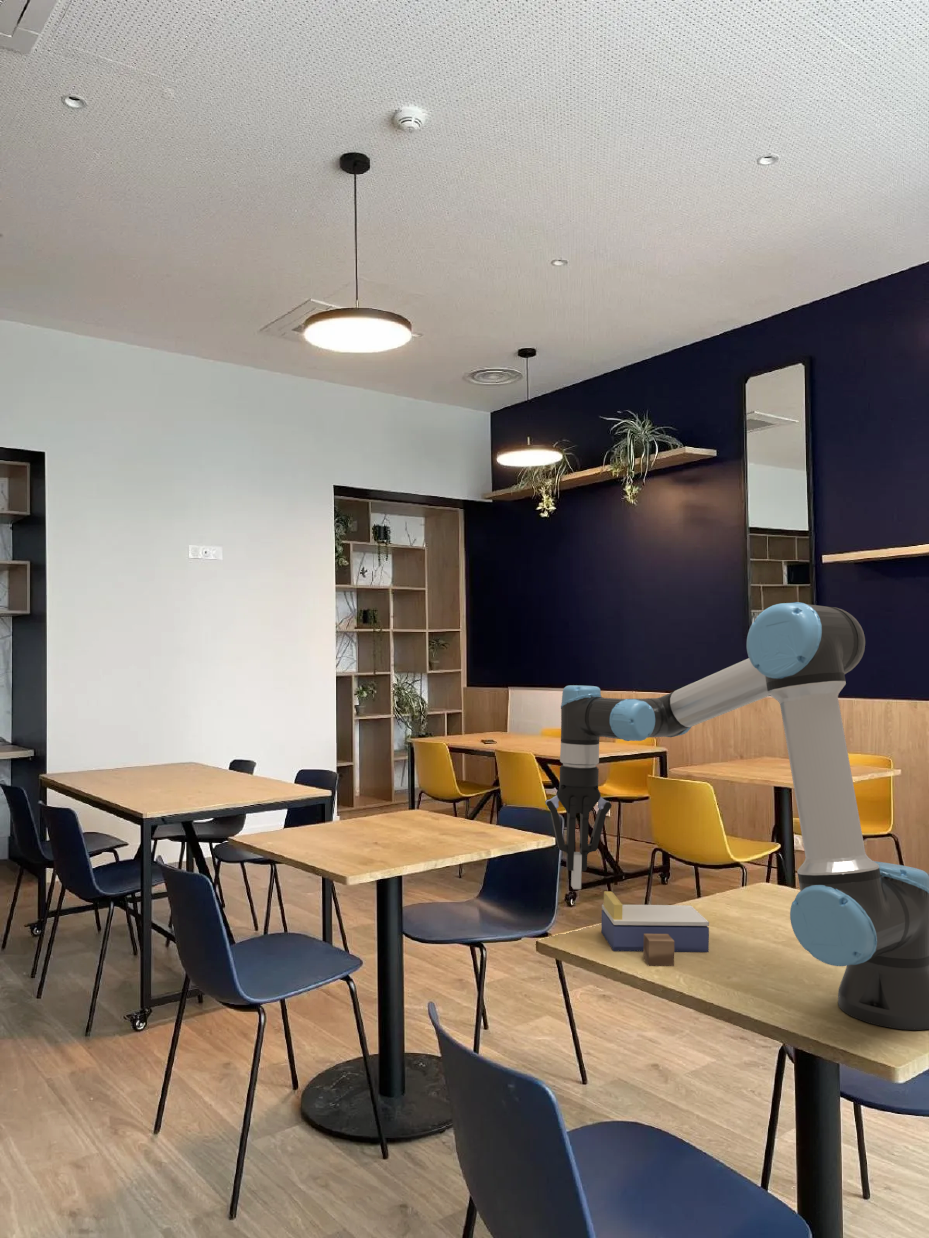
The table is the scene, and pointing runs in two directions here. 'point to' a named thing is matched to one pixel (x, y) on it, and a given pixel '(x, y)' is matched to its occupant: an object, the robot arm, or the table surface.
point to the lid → (650, 913)
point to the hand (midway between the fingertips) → (576, 887)
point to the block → (658, 950)
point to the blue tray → (634, 934)
